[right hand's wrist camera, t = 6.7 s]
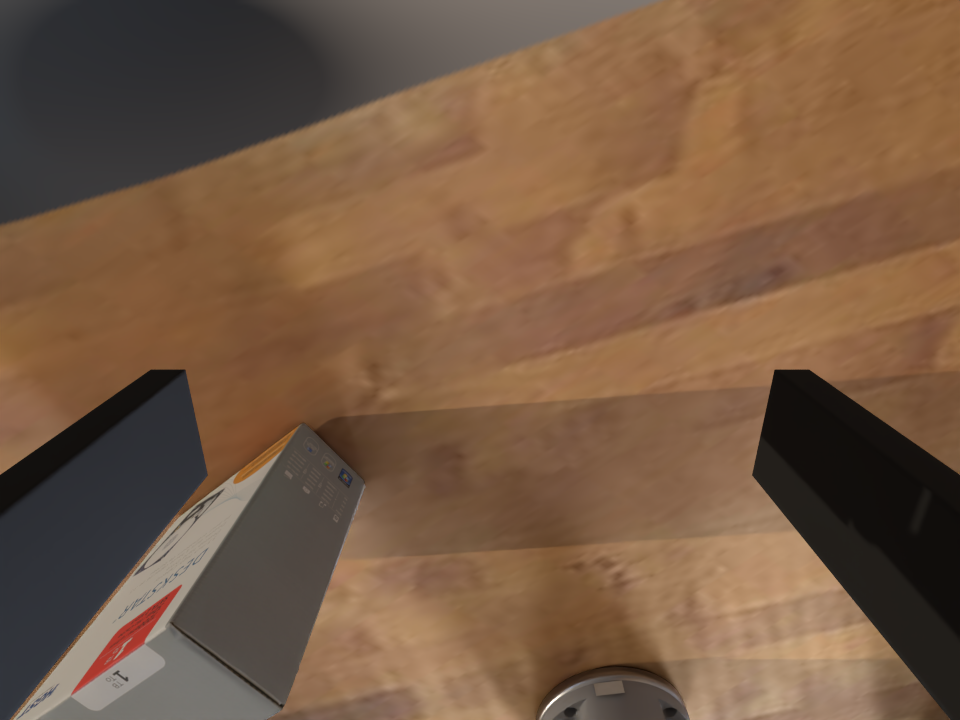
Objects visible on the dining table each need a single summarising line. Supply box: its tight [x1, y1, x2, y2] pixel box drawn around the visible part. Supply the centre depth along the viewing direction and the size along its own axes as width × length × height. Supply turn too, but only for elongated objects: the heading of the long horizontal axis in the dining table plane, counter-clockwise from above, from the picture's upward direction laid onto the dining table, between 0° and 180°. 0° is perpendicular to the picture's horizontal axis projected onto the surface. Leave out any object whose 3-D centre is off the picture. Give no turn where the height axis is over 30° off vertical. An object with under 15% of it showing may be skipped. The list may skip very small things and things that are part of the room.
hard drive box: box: [14, 423, 365, 720], centre depth 37 cm, size 16×8×20 cm, turn 128°
